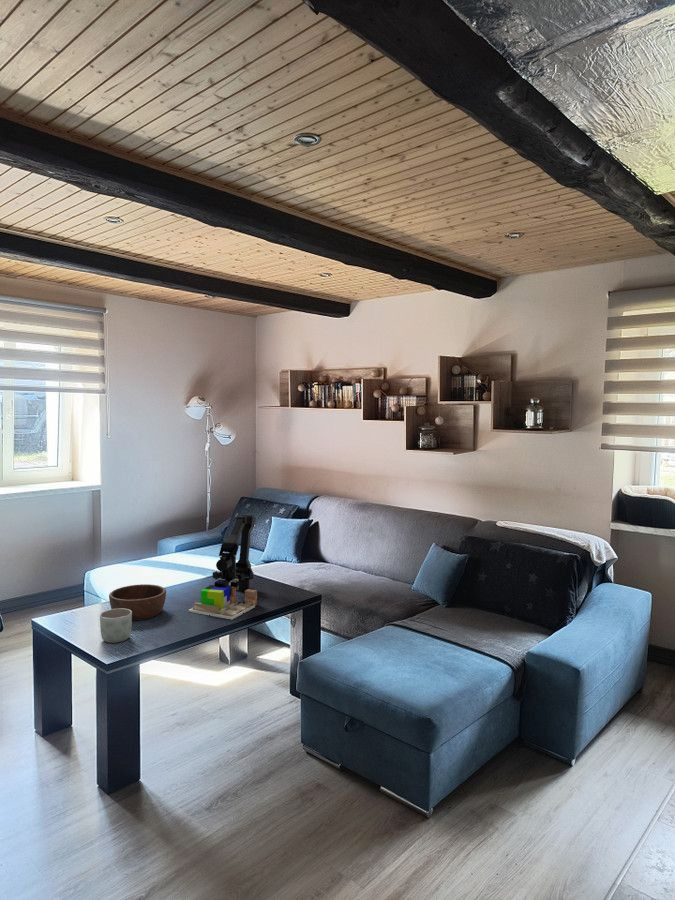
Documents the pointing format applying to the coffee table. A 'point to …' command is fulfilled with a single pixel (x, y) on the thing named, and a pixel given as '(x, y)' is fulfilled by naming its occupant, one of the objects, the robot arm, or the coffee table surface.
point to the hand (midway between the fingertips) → (230, 597)
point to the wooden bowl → (139, 600)
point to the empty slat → (249, 601)
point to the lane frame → (222, 613)
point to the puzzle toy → (216, 596)
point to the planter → (116, 625)
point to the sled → (216, 608)
